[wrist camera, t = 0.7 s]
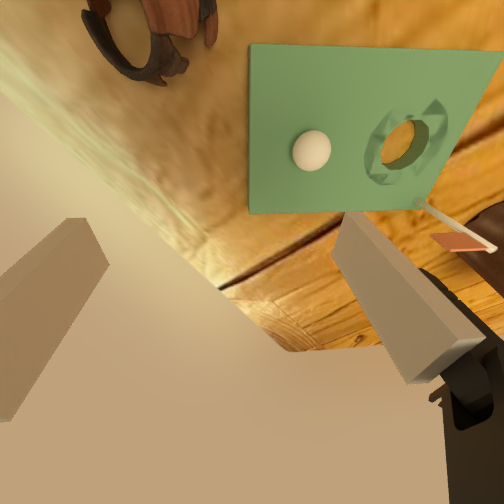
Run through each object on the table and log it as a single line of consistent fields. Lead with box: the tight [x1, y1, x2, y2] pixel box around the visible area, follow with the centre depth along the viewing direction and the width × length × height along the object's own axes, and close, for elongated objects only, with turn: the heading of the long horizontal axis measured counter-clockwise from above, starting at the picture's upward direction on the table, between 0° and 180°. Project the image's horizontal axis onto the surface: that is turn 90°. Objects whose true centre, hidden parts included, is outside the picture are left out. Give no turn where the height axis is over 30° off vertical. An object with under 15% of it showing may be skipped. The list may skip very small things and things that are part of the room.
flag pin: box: [413, 197, 498, 253], centre depth 27 cm, size 1×5×14 cm, turn 89°
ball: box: [293, 130, 331, 171], centre depth 24 cm, size 4×4×4 cm
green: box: [248, 44, 504, 214], centre depth 27 cm, size 25×17×2 cm
